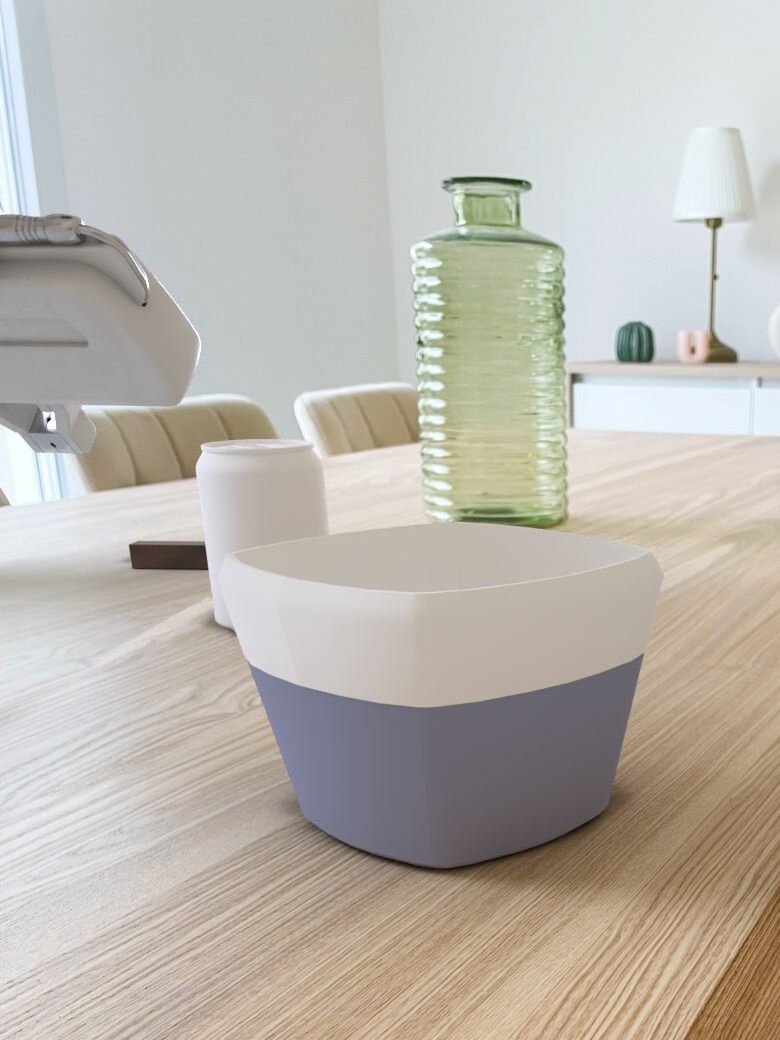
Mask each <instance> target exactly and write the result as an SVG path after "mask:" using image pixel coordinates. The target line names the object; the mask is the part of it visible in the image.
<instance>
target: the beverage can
mask: <svg viewBox="0 0 780 1040" xmlns="http://www.w3.org/2000/svg"><path fill="white" fill-rule="evenodd" d="M314 445H315V444H314V442H313V441H310V440H303V439H287V438H250V439H249V438H248V439H247V438H246V439H230V440H229V439H228V440H217V441H210V442H205V443H202V444H200V450H201V454H200V456H199V457H198V458H197V461H196V464H195V475H196V483H197V490H198V499H199V506H200V514H201V521H202V522H201V523H202V529H203V537H204V541H205V546H206V553H207V561H208V569H207V570H208V575H209V582H210V591H211V592H210V593H211V600H212V607H213V614H214V615H213V616H214V621H215V622H216V623H217V624H218V625H220V626H222V627H224V628H226V629H231V631H233V632H235V629H234V626H233V623H232V621H231V618H230V615H229V612H228V610H227V607H226V604H225V601H224V599H223V596H222V593H221V590H220V588H219V585H218V582H217V578H218V575H219V571H220V568H221V565H222V563H223V561H224V559H225V557H226V555H227V554H228V553H232V552H236V551H240V550H244V549H248V548H252V547H257V546H262V545H268V544H274V543H280V542H286V541H292V540H298V539H304V538H311V537H318V536H325V535H330V526H329V515H328V505H327V495H326V493H327V492H326V484H325V483H326V482H325V472H324V465H323V461H322V460H321V458H320V457H319V456H318V454H317V453H316V452H315V450H314V447H315V446H314ZM235 633H236V632H235Z"/></svg>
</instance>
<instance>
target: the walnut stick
mask: <svg viewBox="0 0 780 1040" xmlns="http://www.w3.org/2000/svg"><path fill="white" fill-rule="evenodd" d="M128 549H129V556H130V563H131V568H132V569H154V570H155V569H159V570H160V569H161V570H162V569H164V570H165V569H168V570H174V569H175V570H209V569H208V561H207V553H206V546H205V540H203V541H202V540H201V541H197V540H196V541H195V540H193V541H191V540H190V541H189V540H136V541H134V542H132V543H129V544H128Z"/></svg>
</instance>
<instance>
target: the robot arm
mask: <svg viewBox="0 0 780 1040" xmlns="http://www.w3.org/2000/svg"><path fill="white" fill-rule="evenodd" d="M4 211H5V210H4V208H3V206H2V202H1V201H0V425H2V426H3V427H5V428H7V429H8V430H10V431H13V432H14V433H18V435H19V436H20V437H21V438H22V439H23V441H24V442H25V443H26V444H27V445H28V446H29V447H30V448H31V450H32V451H33V452H35V453H37V454H44V453H49V454H50V453H51V454H54V453H55V454H71V455H73V454H75V455H88V454H91V451H92V448H93V446H94V443H95V440H96V438H97V429H96V425H95V424H94V423H93V421H92V419H90V417H89V416H88V414H87V413H86V412H85V411H84V409H83V408H82V407H83V406H117V407H118V406H119V407H120V406H123V407H161V408H165V407H167V408H168V407H169V408H171V407H176V406H178V405H180V403H182V402H183V400H184V398H185V396H186V394H187V392H188V390H189V388H190V385H191V383H192V381H193V379H194V376H195V373H196V371H197V368H198V365H199V362H200V357H201V352H202V341H201V338H200V334H199V333H198V331H197V330H196V328H195V327H194V325H193V324H192V322H191V320H190V319H189V318H188V316H187V315H186V314H185V312H184V311H183V310H182V308H181V306H180V305H179V304H178V303H177V302H176V300H175V299H174V298H173V296H172V295H171V294H170V293H169V292H168V289H166V287H165V286H164V285H163V284H162V283H161V281H160V280H159V279H158V278H157V276H156V275H155V274H154V273H153V271H151V270H150V268H149V267H148V266H147V265H146V264H145V263H144V261H143V260H142V259H141V258H140V257H139V256H138V255H137V254H136V253H135V252H134V251H133V250H132V249H131V248H130V247H129V246H128V245H127V244H126V243H125V242H124V240H122V239H121V238H120V237H119V236H117V235H115V234H111V233H110V234H109V233H108V232H106V231H103V230H101V229H99V228H97V227H94V226H91V225H87V224H85V222H84V221H83V219H81V217H79V216H77V215H73V214H67V213H51V214H50V213H49V214H47V215H45V216H32V215H26V214H25V215H24V214H14V213H6V214H5V212H4Z"/></svg>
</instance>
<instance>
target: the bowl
mask: <svg viewBox="0 0 780 1040" xmlns="http://www.w3.org/2000/svg"><path fill="white" fill-rule="evenodd" d="M664 576H665V574H664V572H663V569H662V567H661V564H660V562H659V560H658V559H657V557H656V556H655V554H654V552H653V551H652V550H651V549H647V548H645V547H643V546H639V545H636V544H633V543H629V542H624V541H619V540H615V539H608V538H603V537H597V536H593V535H587V534H579V533H573V532H566V531H559V530H551V529H544V528H537V527H529V526H518V525H517V526H516V525H511V524H510V525H508V524H500V523H499V524H498V523H483V522H469V521H450V522H448V521H447V522H436V523H434V522H433V523H420V524H409V525H399V526H391V527H382V528H374V529H371V528H370V529H364V530H355V531H349V532H348V531H347V532H340V533H331V534H329V535H325V536H318V537H311V538H304V539H298V540H292V541H286V542H280V543H274V544H268V545H262V546H257V547H252V548H248V549H244V550H240V551H236V552H232V553H228V554H227V555H226V557H225V559H224V561H223V563H222V565H221V568H220V571H219V575H218V578H217V582H218V585H219V588H220V590H221V593H222V596H223V599H224V601H225V604H226V607H227V610H228V612H229V615H230V618H231V621H232V623H233V626H234V629H235V634H236V636H237V639H238V642H239V645H240V648H241V651H242V653H243V656H244V658H245V660H246V662H247V664H248V667H249V670H250V672H251V676H252V677H253V681H254V683H255V686H256V689H257V692H258V695H259V698H260V701H261V702H262V706H263V708H264V711H265V713H266V717H267V720H268V722H269V725H270V727H271V728H270V729H271V731H272V734H273V736H274V739H275V741H276V744H277V746H278V750H279V751H280V755H281V758H282V760H283V763H284V766H285V769H286V772H287V774H288V777H289V780H290V783H291V785H292V788H293V790H294V794H295V796H296V800H297V802H298V804H299V807H300V810H301V813H302V814H303V816H304V817H305V819H306V820H307V821H309V822H311V824H313V825H315V826H316V827H317V828H319V829H320V830H321V831H323V832H325V834H327V835H329V836H331V837H333V838H335V839H336V840H339V841H340V842H343V843H345V844H346V845H349V846H351V847H353V848H355V849H358V850H360V851H364V852H366V853H369V854H372V855H375V856H378V857H382V858H385V859H386V858H387V859H391V860H394V861H397V862H401V863H406V864H410V865H414V866H417V867H418V866H419V867H426V868H432V869H452V868H453V869H454V868H458V867H464V866H470V865H475V864H479V863H482V862H486V861H489V860H492V859H498V858H501V857H505V856H509V855H512V854H515V853H519V852H522V851H526V850H528V849H532V848H535V847H537V846H540V845H543V844H546V843H549V842H550V841H553V840H554V839H557V838H560V837H561V836H564V835H566V834H567V833H570V832H572V831H573V830H575V829H577V828H578V827H580V826H582V825H583V824H586V823H588V822H589V821H591V820H592V819H594V818H595V817H597V816H598V815H600V814H601V813H602V812H603V811H605V810H606V809H607V807H608V806H609V804H610V799H611V794H612V790H613V786H614V782H615V779H616V774H617V770H618V766H619V762H620V757H621V753H622V749H623V744H624V740H625V736H626V731H627V727H628V723H629V720H630V715H631V711H632V706H633V702H634V698H635V695H636V690H637V686H638V681H639V677H640V673H641V669H642V666H643V660H644V656H645V653H646V651H647V647H648V644H649V639H650V636H651V631H652V627H653V623H654V618H655V614H656V610H657V606H658V602H659V597H660V594H661V590H662V584H663V580H664Z"/></svg>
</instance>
